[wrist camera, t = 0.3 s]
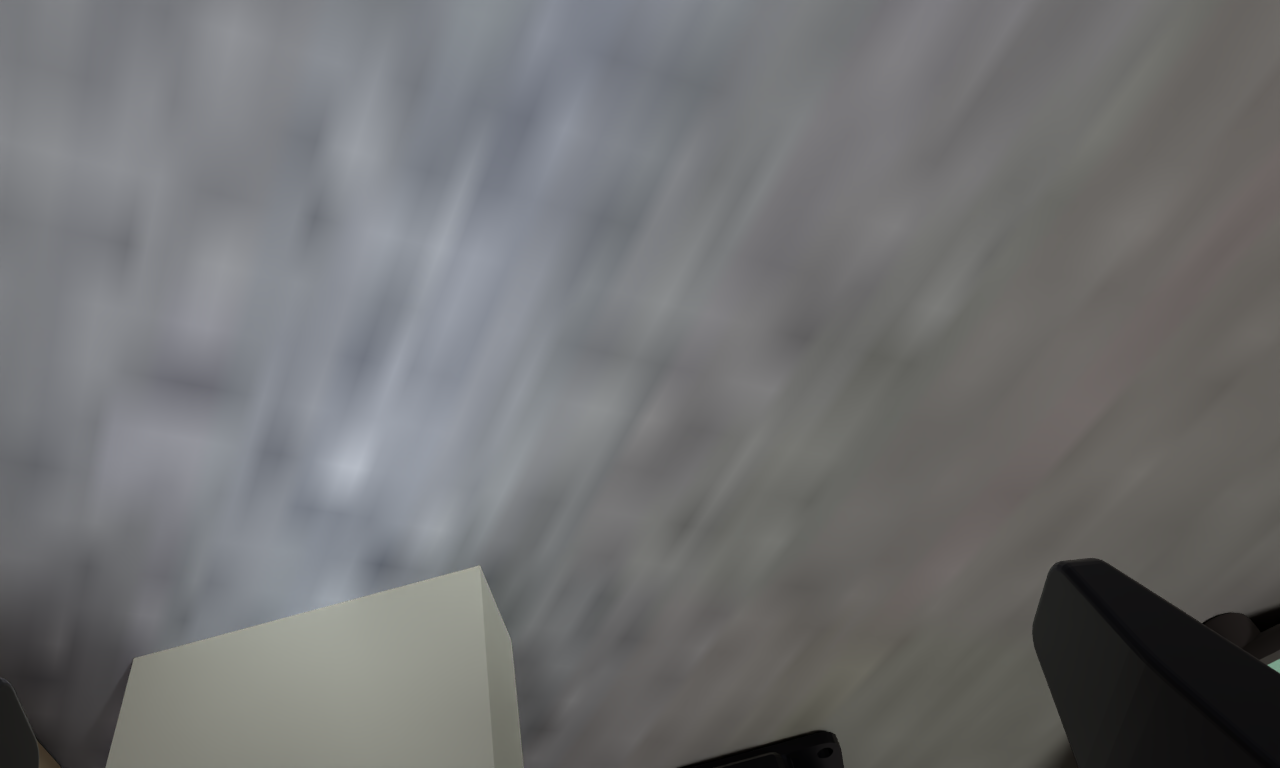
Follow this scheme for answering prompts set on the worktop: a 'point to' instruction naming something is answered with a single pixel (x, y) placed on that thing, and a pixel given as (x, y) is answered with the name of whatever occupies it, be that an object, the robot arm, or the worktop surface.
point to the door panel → (335, 688)
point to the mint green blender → (1249, 637)
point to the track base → (46, 759)
